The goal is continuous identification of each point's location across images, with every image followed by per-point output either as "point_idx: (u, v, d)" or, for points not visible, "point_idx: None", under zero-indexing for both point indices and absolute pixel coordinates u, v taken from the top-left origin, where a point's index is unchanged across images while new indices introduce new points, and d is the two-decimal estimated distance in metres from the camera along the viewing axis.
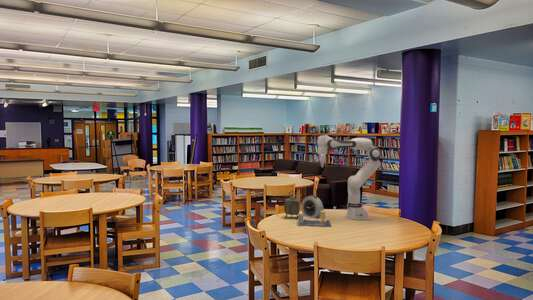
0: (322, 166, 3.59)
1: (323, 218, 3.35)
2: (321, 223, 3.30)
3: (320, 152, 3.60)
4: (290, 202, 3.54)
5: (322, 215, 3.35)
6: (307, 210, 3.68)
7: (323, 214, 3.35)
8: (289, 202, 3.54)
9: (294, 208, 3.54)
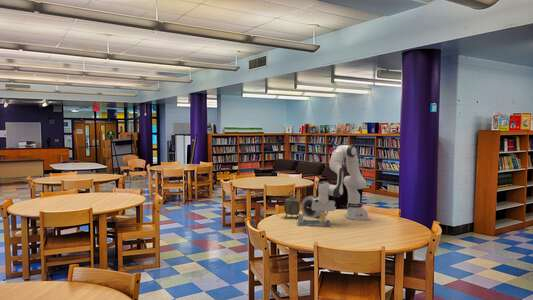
0: (326, 215, 3.37)
1: (323, 218, 3.35)
2: (321, 223, 3.30)
3: (327, 200, 3.34)
4: (290, 202, 3.54)
5: (322, 215, 3.35)
6: (307, 210, 3.68)
7: (323, 214, 3.35)
8: (289, 202, 3.54)
9: (294, 208, 3.54)
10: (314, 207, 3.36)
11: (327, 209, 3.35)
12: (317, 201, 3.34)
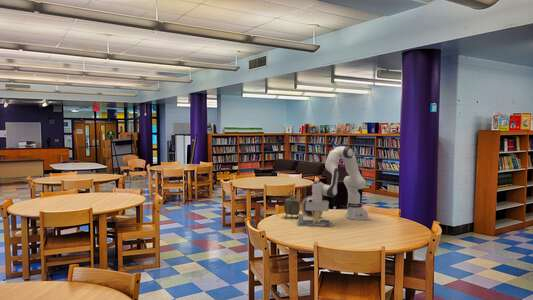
0: (320, 214, 3.37)
1: (317, 218, 3.35)
2: (313, 223, 3.31)
3: (321, 200, 3.34)
4: (290, 202, 3.54)
5: (316, 215, 3.35)
6: (307, 210, 3.68)
7: (317, 214, 3.35)
8: (289, 202, 3.54)
9: (294, 208, 3.54)
10: (308, 207, 3.36)
11: (321, 209, 3.35)
12: (311, 201, 3.34)
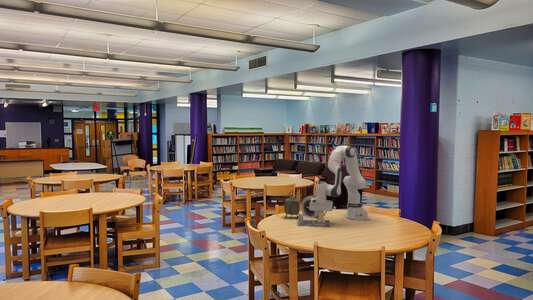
0: None
1: (321, 218, 3.35)
2: (313, 223, 3.31)
3: (325, 200, 3.34)
4: (290, 202, 3.54)
5: (320, 215, 3.35)
6: (307, 210, 3.68)
7: (321, 214, 3.35)
8: (289, 202, 3.54)
9: (294, 208, 3.54)
10: (312, 207, 3.36)
11: (325, 209, 3.35)
12: (315, 201, 3.34)
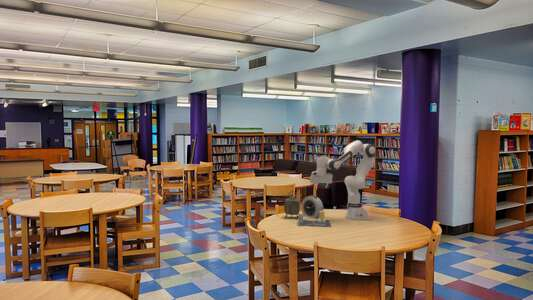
0: (326, 187, 3.53)
1: (322, 218, 3.35)
2: (313, 223, 3.31)
3: (325, 173, 3.51)
4: (290, 202, 3.54)
5: (321, 215, 3.35)
6: (307, 210, 3.68)
7: (322, 214, 3.35)
8: (289, 202, 3.54)
9: (294, 208, 3.54)
10: (313, 180, 3.52)
11: (325, 181, 3.51)
12: (315, 174, 3.50)
